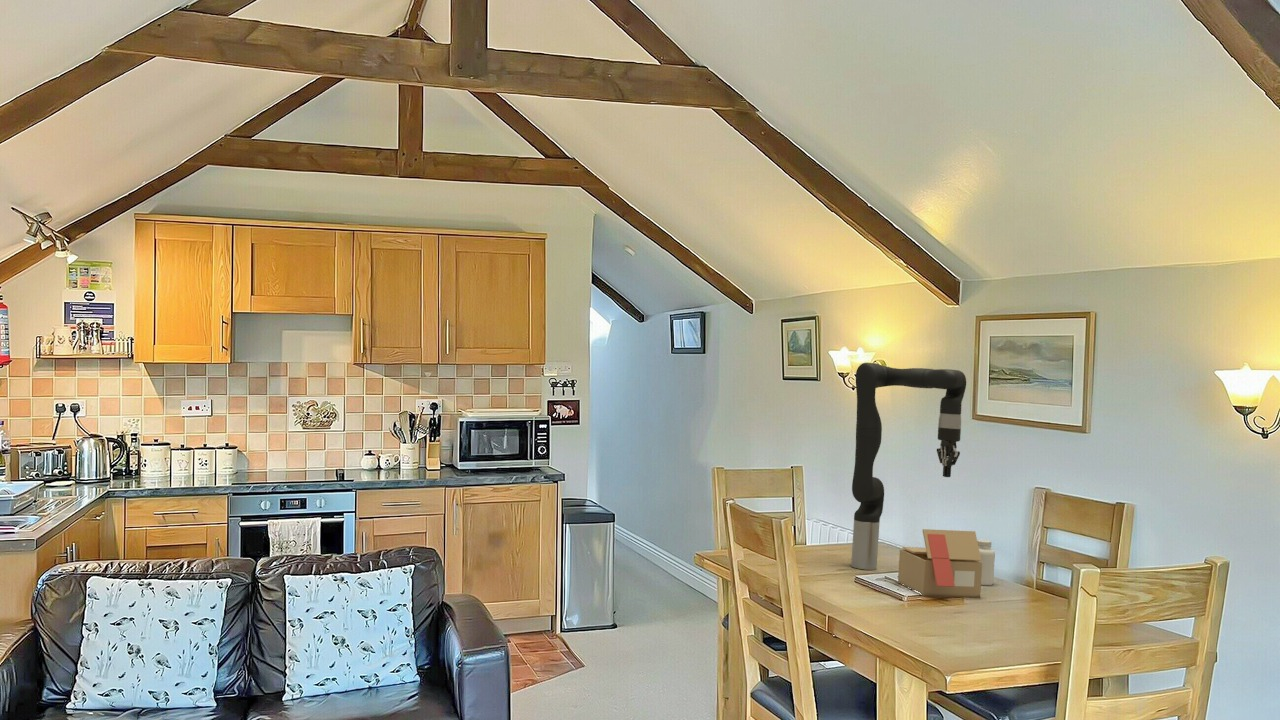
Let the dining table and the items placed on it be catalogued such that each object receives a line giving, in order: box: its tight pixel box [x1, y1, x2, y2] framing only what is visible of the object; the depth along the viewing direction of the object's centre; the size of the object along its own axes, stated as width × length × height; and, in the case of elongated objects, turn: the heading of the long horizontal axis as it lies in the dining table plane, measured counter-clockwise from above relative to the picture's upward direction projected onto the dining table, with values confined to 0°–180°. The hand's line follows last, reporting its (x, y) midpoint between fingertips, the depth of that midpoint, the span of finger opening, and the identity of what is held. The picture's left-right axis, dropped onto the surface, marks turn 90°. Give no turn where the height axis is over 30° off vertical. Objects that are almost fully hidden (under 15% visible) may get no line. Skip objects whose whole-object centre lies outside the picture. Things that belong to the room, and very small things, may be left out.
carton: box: [897, 546, 982, 599], centre depth 324 cm, size 19×20×12 cm
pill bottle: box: [977, 539, 996, 586], centre depth 342 cm, size 8×8×15 cm
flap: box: [922, 528, 981, 587], centre depth 315 cm, size 19×18×1 cm
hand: (946, 476), depth 336 cm, fingers closed
